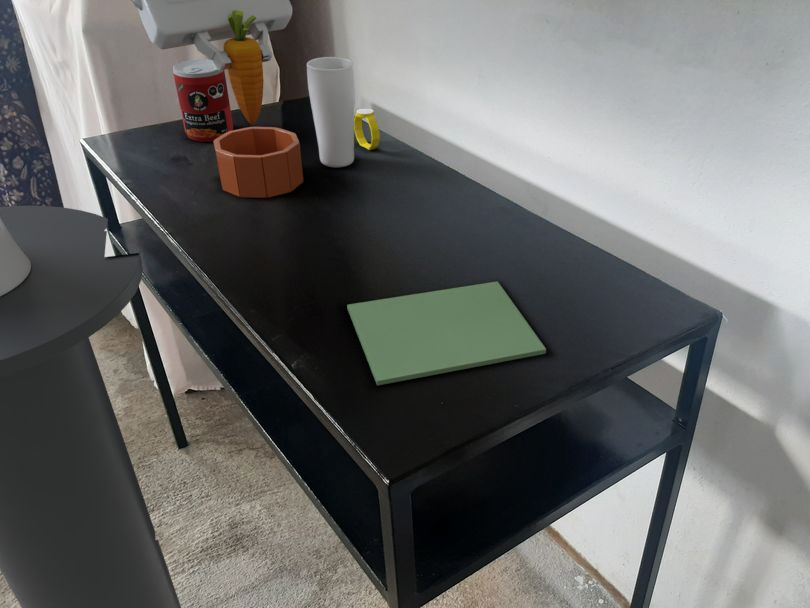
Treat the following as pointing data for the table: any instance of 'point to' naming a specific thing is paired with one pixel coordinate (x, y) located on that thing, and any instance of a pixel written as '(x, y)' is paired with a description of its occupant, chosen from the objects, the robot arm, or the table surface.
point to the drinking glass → (333, 108)
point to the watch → (373, 126)
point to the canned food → (203, 99)
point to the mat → (441, 332)
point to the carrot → (245, 67)
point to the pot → (259, 161)
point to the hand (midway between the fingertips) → (246, 63)
